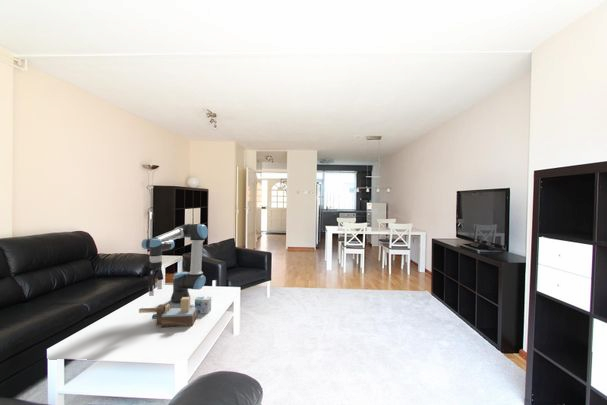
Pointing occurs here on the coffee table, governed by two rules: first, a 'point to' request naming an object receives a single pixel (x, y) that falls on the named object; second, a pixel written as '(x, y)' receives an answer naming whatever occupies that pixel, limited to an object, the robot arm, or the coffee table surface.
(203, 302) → the light bulb box
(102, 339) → the coffee table surface
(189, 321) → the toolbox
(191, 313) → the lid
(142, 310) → the key
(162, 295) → the coffee table surface
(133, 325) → the coffee table surface
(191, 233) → the robot arm
